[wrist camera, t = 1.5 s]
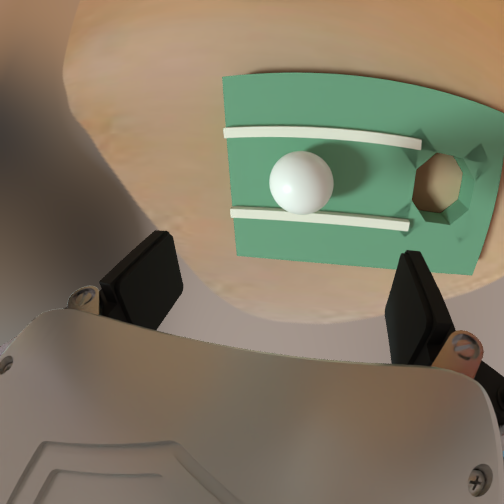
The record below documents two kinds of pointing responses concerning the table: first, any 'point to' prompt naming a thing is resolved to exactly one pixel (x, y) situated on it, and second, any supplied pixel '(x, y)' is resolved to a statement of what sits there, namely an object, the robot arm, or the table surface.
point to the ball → (301, 182)
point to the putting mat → (360, 168)
